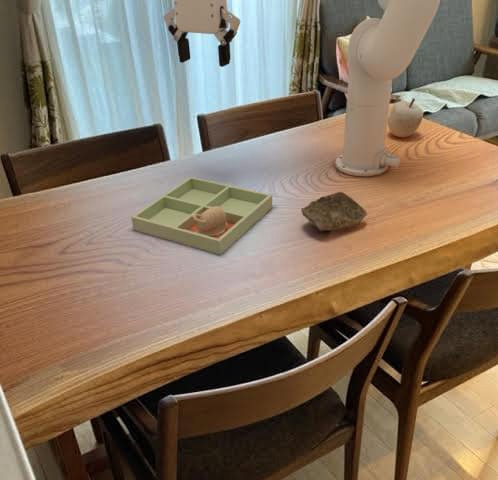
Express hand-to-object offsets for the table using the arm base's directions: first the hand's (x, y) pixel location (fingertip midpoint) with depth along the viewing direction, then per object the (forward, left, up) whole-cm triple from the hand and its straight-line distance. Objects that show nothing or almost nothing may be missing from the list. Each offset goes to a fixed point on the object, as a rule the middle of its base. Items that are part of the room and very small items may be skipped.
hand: (204, 62), depth 112 cm
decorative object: (-32, -45, -26) cm, 61 cm away
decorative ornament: (-14, +22, -25) cm, 36 cm away
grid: (-9, +17, -26) cm, 32 cm away
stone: (-34, +8, -26) cm, 43 cm away
